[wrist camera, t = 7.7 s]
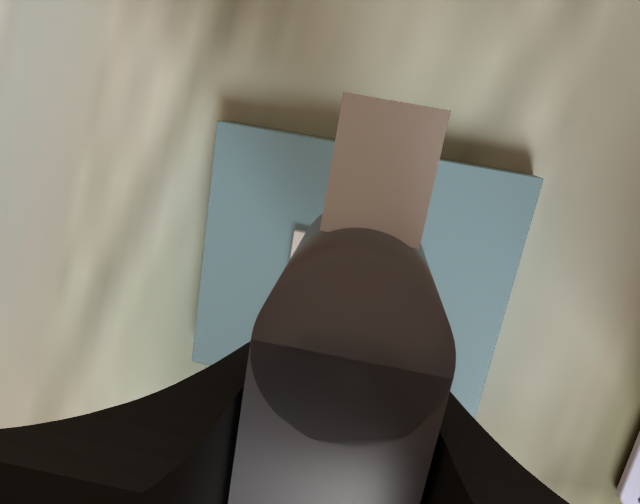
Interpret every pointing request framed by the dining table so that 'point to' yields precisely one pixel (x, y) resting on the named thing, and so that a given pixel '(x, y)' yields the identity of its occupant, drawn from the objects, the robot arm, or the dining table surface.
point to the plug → (353, 330)
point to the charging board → (307, 205)
